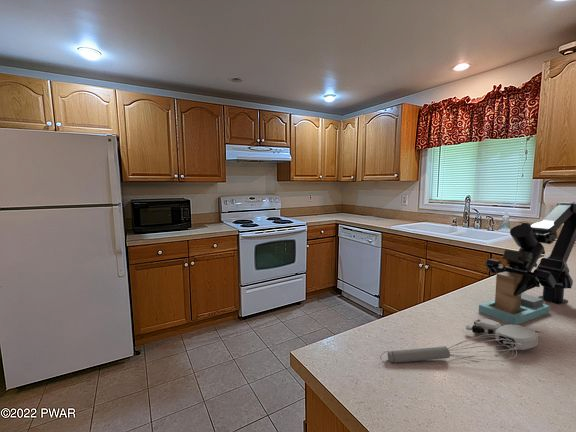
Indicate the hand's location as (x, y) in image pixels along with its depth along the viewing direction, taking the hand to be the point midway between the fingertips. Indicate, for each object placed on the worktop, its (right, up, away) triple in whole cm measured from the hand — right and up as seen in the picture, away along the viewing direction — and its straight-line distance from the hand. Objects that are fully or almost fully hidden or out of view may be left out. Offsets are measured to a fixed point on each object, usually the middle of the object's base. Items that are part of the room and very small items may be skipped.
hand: (505, 292), depth 93 cm
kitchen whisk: (-32, -11, -23) cm, 41 cm away
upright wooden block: (+1, -7, +1) cm, 7 cm away
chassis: (+5, -8, +3) cm, 10 cm away
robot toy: (-12, -10, -14) cm, 21 cm away
